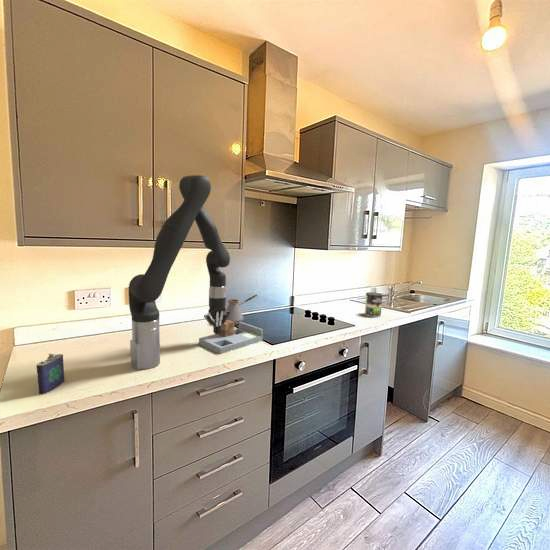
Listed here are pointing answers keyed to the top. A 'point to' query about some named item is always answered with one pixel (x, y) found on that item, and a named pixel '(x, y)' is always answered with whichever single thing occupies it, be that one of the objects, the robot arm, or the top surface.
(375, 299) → the coffee can
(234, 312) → the coffee pot
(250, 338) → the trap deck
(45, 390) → the flask
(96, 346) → the top surface
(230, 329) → the block
